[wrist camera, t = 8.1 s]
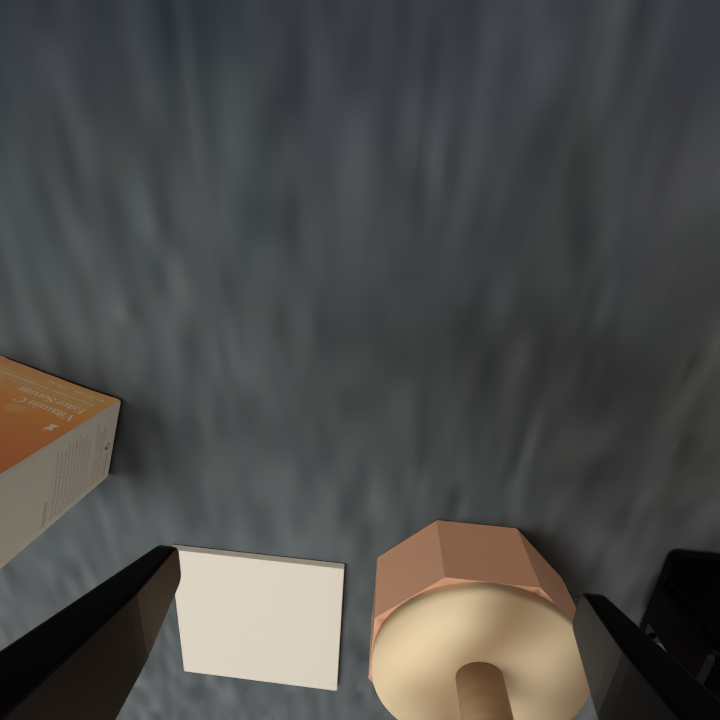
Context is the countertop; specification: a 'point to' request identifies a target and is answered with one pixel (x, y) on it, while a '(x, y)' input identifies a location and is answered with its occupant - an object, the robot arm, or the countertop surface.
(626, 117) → the countertop surface
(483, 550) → the bowl
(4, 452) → the small box
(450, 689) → the lid
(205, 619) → the mat
